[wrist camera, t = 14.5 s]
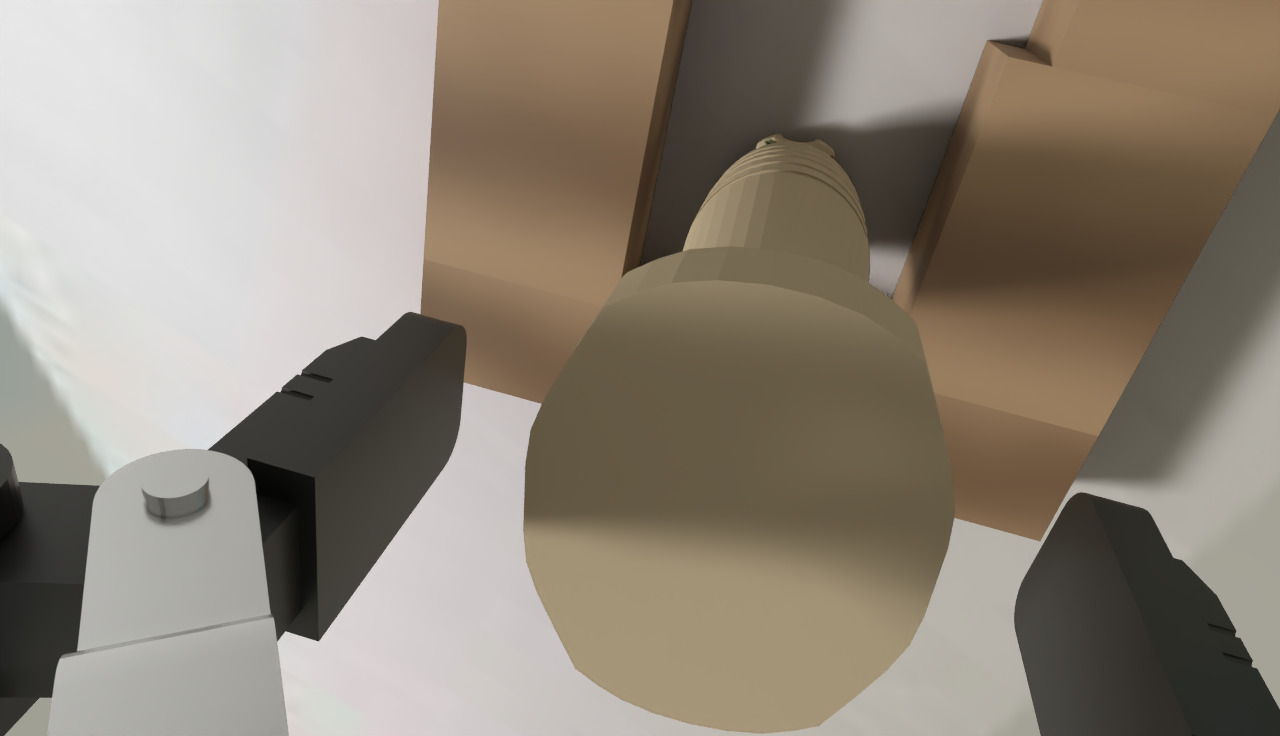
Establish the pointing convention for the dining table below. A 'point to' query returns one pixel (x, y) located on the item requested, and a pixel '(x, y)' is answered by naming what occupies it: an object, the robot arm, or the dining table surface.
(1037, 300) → the square wooden frame
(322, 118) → the dining table surface
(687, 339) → the handle
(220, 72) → the dining table surface
